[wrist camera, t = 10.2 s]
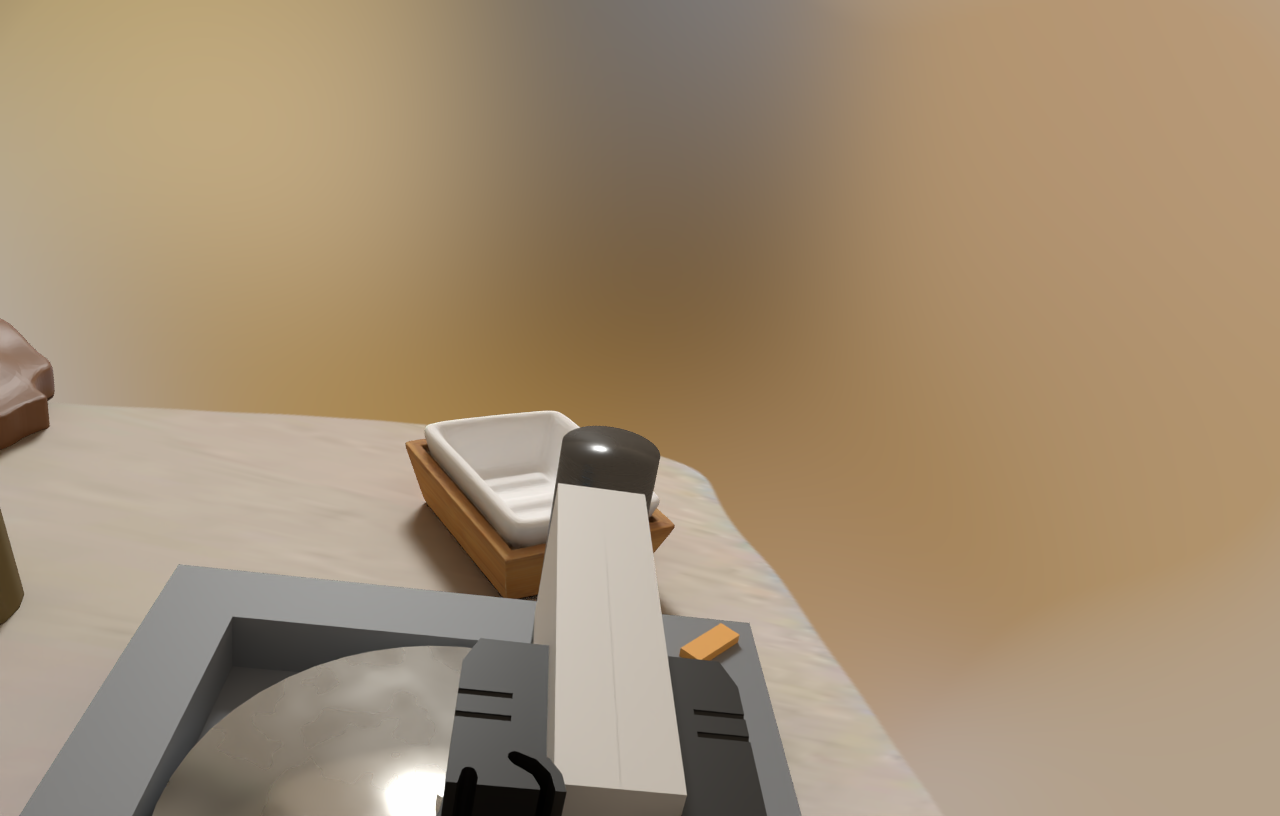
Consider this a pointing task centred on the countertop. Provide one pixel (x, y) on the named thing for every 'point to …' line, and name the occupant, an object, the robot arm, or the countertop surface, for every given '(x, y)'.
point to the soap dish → (501, 491)
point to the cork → (8, 577)
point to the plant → (22, 387)
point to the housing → (296, 641)
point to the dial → (367, 704)
